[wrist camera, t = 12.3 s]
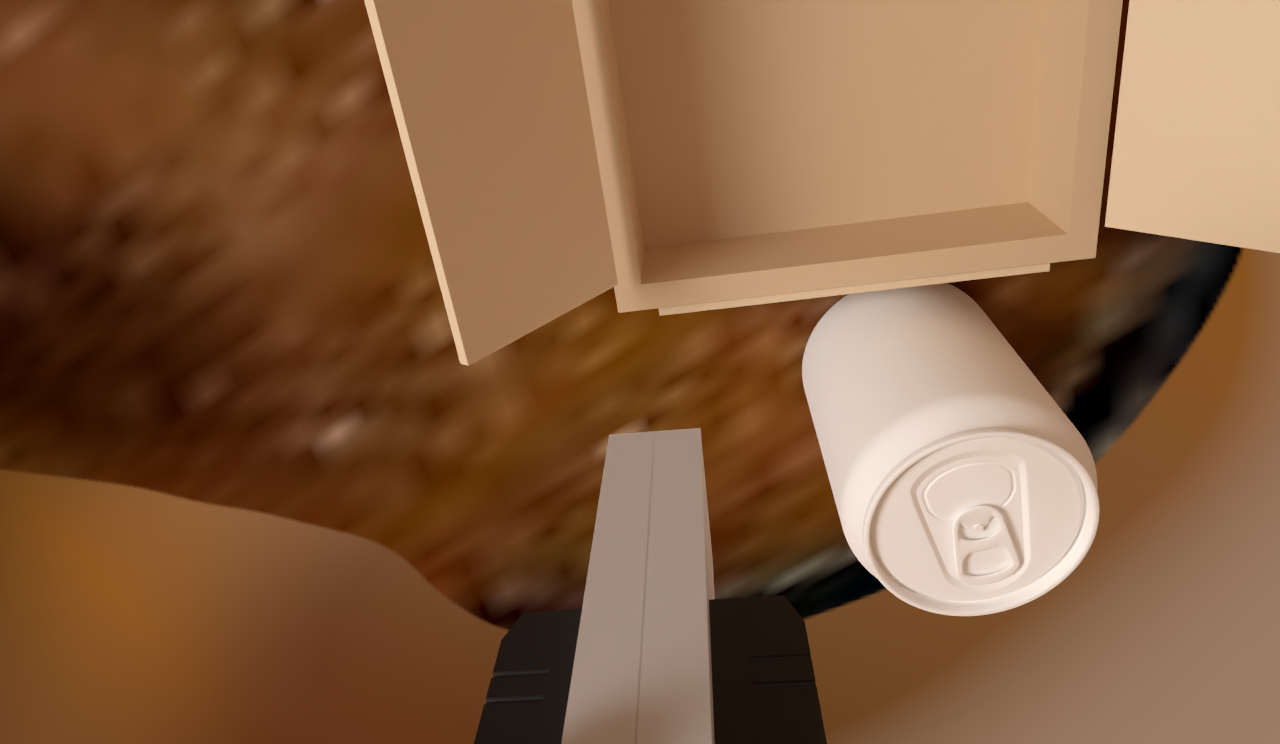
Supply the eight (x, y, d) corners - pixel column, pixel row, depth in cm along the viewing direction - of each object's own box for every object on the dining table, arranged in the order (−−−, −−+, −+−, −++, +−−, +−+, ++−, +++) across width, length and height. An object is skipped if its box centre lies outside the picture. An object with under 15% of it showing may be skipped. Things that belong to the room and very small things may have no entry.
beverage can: (971, 243, 35) (1100, 384, 24) (1004, 408, 38) (1130, 594, 28) (777, 304, 36) (819, 461, 26) (825, 457, 40) (880, 651, 29)
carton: (540, -266, 28) (517, -298, 24) (1095, -367, 26) (1171, -420, 22) (625, 277, 36) (619, 321, 32) (1048, 226, 34) (1097, 266, 30)
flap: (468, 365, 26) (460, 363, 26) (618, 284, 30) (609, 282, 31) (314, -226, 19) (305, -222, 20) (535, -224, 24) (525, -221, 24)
